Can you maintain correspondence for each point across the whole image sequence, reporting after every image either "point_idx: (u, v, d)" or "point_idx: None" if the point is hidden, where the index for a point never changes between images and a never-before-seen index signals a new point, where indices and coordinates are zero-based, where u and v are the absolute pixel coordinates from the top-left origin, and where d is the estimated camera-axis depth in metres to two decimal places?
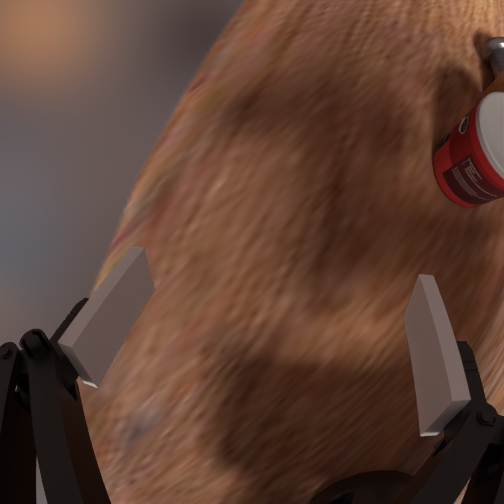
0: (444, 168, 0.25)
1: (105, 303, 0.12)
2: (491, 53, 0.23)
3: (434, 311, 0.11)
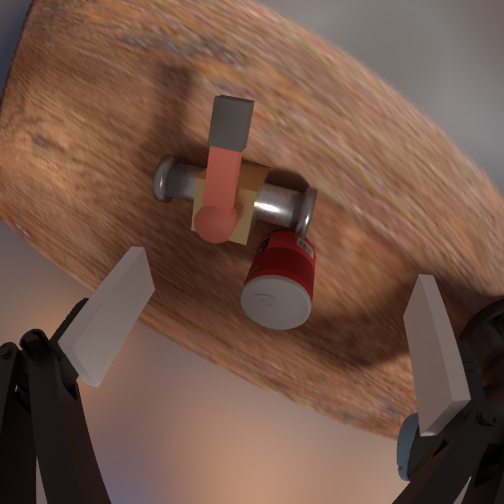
0: None
1: (105, 303, 0.12)
2: None
3: (434, 311, 0.11)
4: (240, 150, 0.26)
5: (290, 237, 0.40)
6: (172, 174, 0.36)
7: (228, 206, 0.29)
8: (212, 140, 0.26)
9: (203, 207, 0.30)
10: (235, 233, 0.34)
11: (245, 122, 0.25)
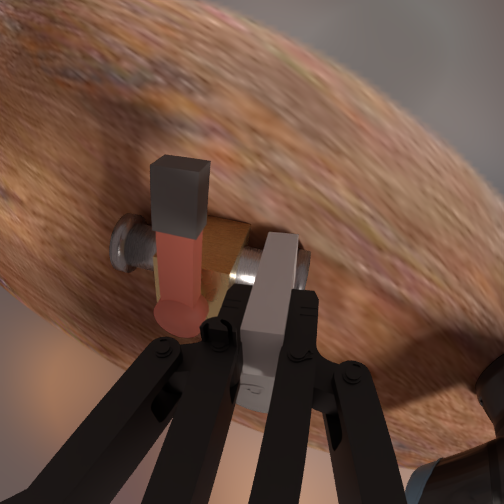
0: None
1: None
2: None
3: (281, 261, 0.14)
4: (195, 237, 0.19)
5: None
6: (131, 242, 0.29)
7: (191, 301, 0.22)
8: (156, 223, 0.19)
9: (161, 301, 0.23)
10: (210, 317, 0.27)
11: (196, 199, 0.18)
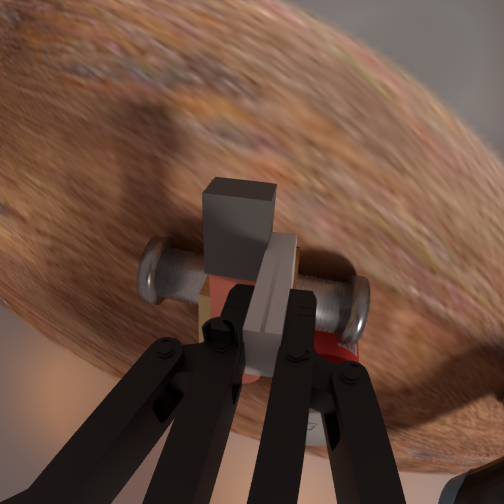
0: None
1: None
2: None
3: (280, 261, 0.14)
4: None
5: (329, 334, 0.29)
6: (162, 272, 0.25)
7: None
8: (210, 265, 0.16)
9: None
10: None
11: (266, 235, 0.14)
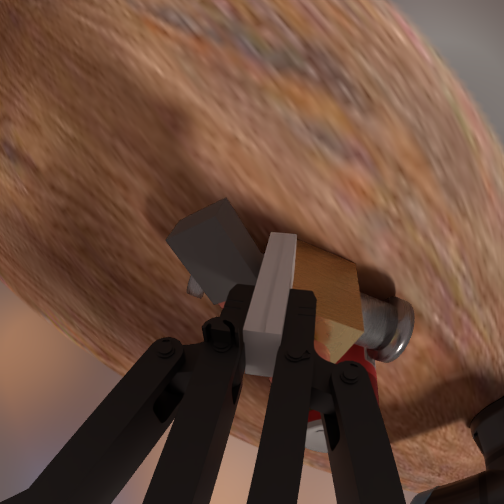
0: None
1: None
2: None
3: (280, 261, 0.14)
4: None
5: (357, 348, 0.29)
6: None
7: None
8: (212, 295, 0.16)
9: None
10: None
11: (234, 246, 0.15)
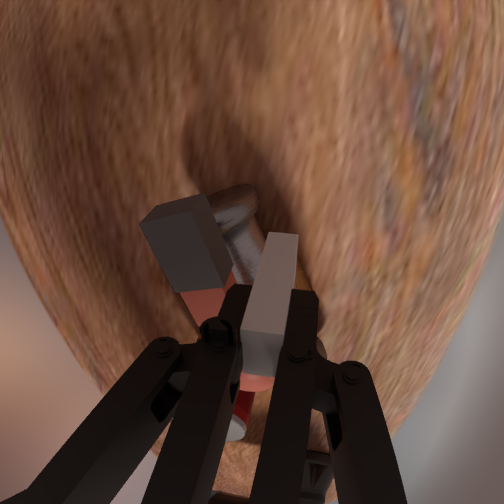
0: None
1: None
2: None
3: (282, 261, 0.14)
4: (222, 284, 0.16)
5: None
6: (238, 232, 0.22)
7: None
8: (175, 284, 0.17)
9: None
10: None
11: (203, 242, 0.15)
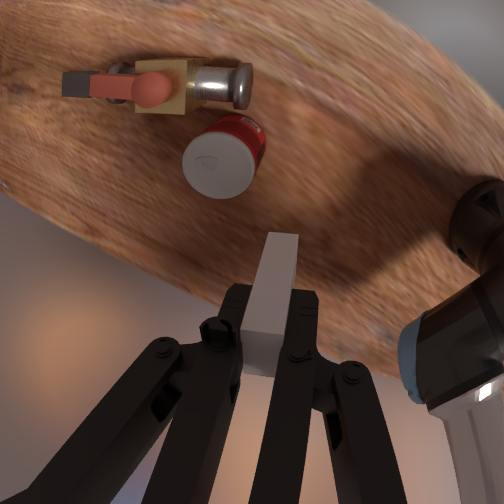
0: None
1: None
2: None
3: (281, 261, 0.14)
4: (89, 73, 0.28)
5: (235, 116, 0.37)
6: None
7: (129, 78, 0.28)
8: (84, 95, 0.29)
9: (132, 99, 0.29)
10: (173, 104, 0.32)
11: (72, 73, 0.28)
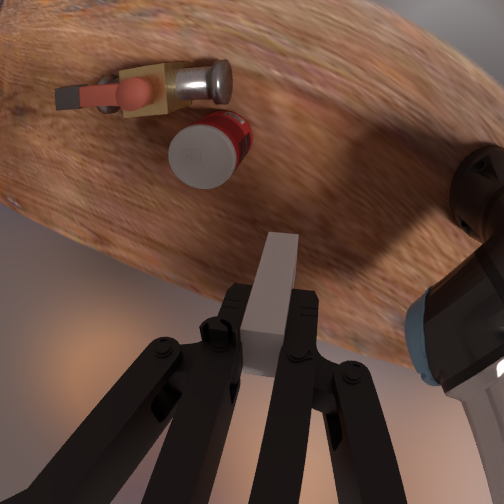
0: None
1: None
2: (114, 107, 0.40)
3: (282, 261, 0.14)
4: (78, 86, 0.31)
5: (218, 112, 0.39)
6: None
7: (113, 85, 0.30)
8: (76, 106, 0.32)
9: (118, 104, 0.32)
10: (157, 105, 0.34)
11: (63, 88, 0.31)
